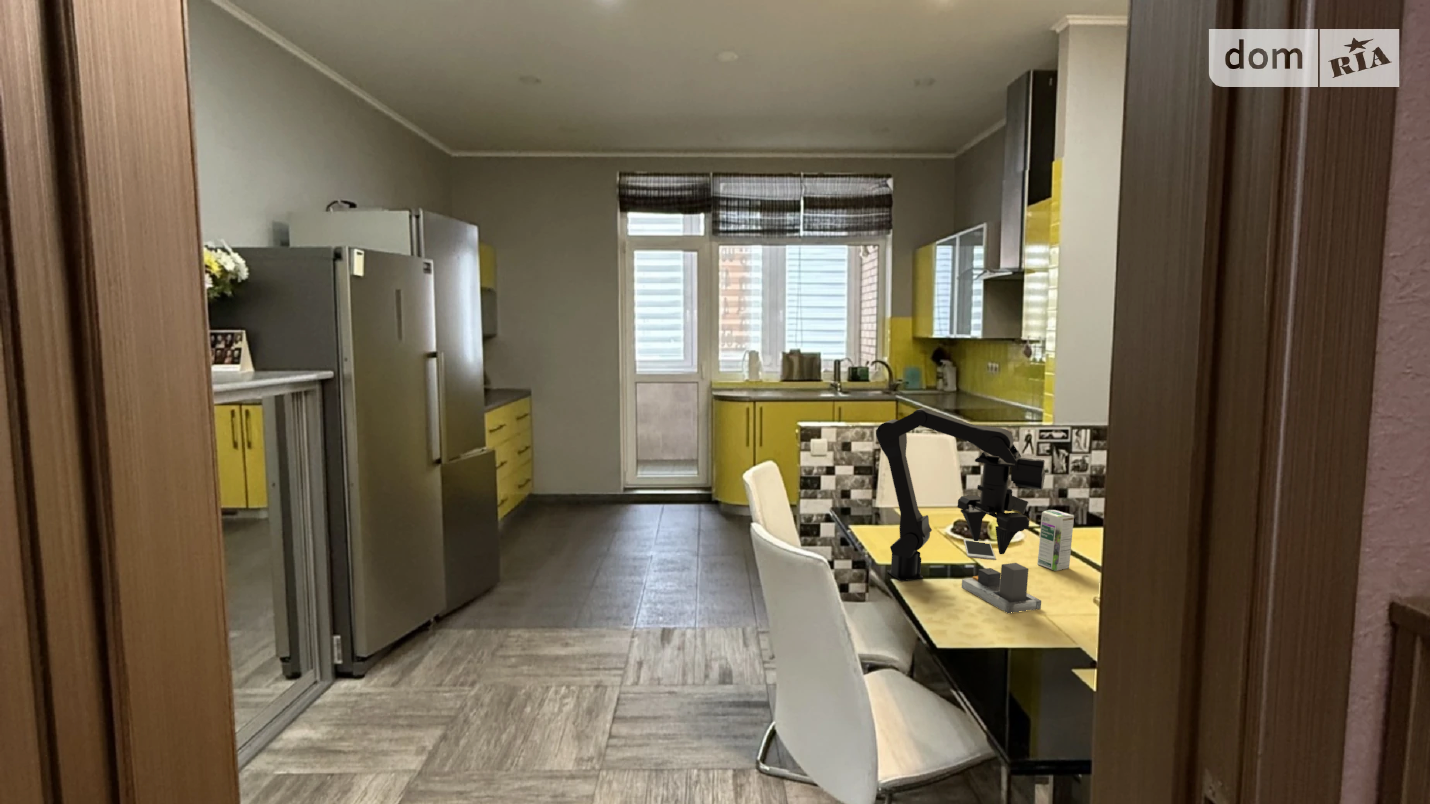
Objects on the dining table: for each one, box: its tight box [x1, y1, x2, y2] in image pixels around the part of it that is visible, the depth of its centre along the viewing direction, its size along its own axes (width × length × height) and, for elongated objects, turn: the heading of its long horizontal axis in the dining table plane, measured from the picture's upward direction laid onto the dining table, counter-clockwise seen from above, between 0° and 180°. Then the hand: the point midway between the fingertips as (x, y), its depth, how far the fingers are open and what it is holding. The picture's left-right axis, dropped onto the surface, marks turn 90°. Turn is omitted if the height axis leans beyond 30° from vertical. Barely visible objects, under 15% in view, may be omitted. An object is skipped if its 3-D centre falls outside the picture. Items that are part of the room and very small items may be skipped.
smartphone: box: [963, 538, 996, 561], centre depth 205 cm, size 7×15×1 cm, turn 165°
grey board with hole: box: [961, 567, 1042, 614], centre depth 170 cm, size 9×16×5 cm, turn 19°
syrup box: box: [1037, 509, 1075, 572], centre depth 192 cm, size 6×6×14 cm
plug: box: [999, 562, 1029, 603], centre depth 166 cm, size 4×4×9 cm
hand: (988, 547), depth 173 cm, fingers open, 9 cm apart
